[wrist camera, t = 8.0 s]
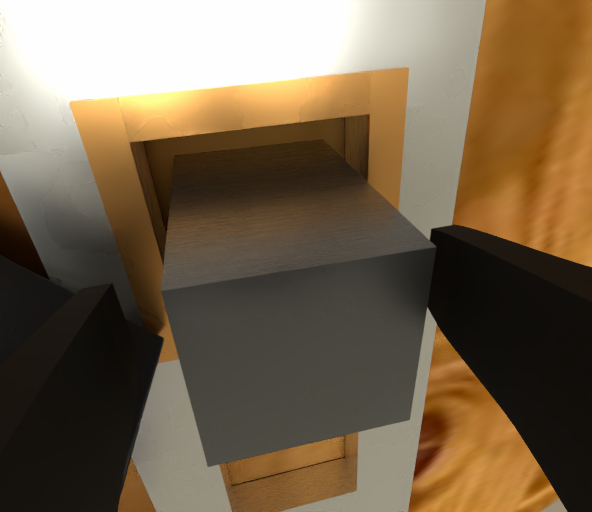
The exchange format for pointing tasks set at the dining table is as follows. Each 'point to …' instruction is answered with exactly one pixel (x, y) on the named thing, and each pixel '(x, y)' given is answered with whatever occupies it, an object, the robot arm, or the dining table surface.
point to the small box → (42, 305)
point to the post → (291, 298)
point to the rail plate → (216, 118)
